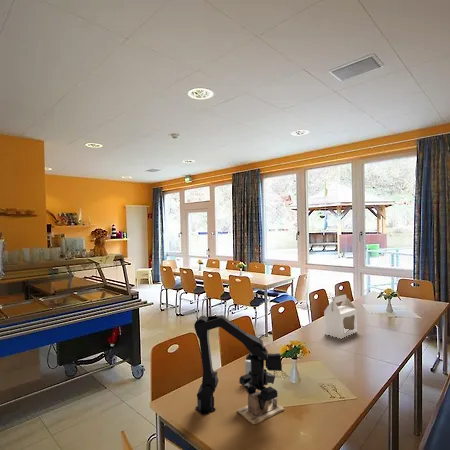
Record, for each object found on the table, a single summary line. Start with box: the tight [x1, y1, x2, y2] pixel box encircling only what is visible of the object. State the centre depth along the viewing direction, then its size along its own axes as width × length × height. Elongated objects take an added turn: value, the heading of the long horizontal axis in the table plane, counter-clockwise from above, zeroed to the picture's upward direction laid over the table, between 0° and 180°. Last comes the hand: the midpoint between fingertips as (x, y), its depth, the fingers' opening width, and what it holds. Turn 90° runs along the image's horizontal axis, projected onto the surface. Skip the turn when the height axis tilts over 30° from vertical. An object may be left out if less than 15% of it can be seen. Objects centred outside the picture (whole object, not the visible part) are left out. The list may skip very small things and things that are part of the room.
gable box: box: [323, 294, 358, 340], centre depth 228 cm, size 22×13×28 cm, turn 129°
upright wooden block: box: [247, 390, 268, 415], centre depth 131 cm, size 7×5×6 cm
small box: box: [244, 359, 251, 375], centre depth 160 cm, size 8×6×10 cm
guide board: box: [236, 397, 285, 426], centre depth 132 cm, size 17×11×4 cm, turn 125°
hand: (258, 406), depth 131 cm, fingers closed on upright wooden block, 5 cm apart
